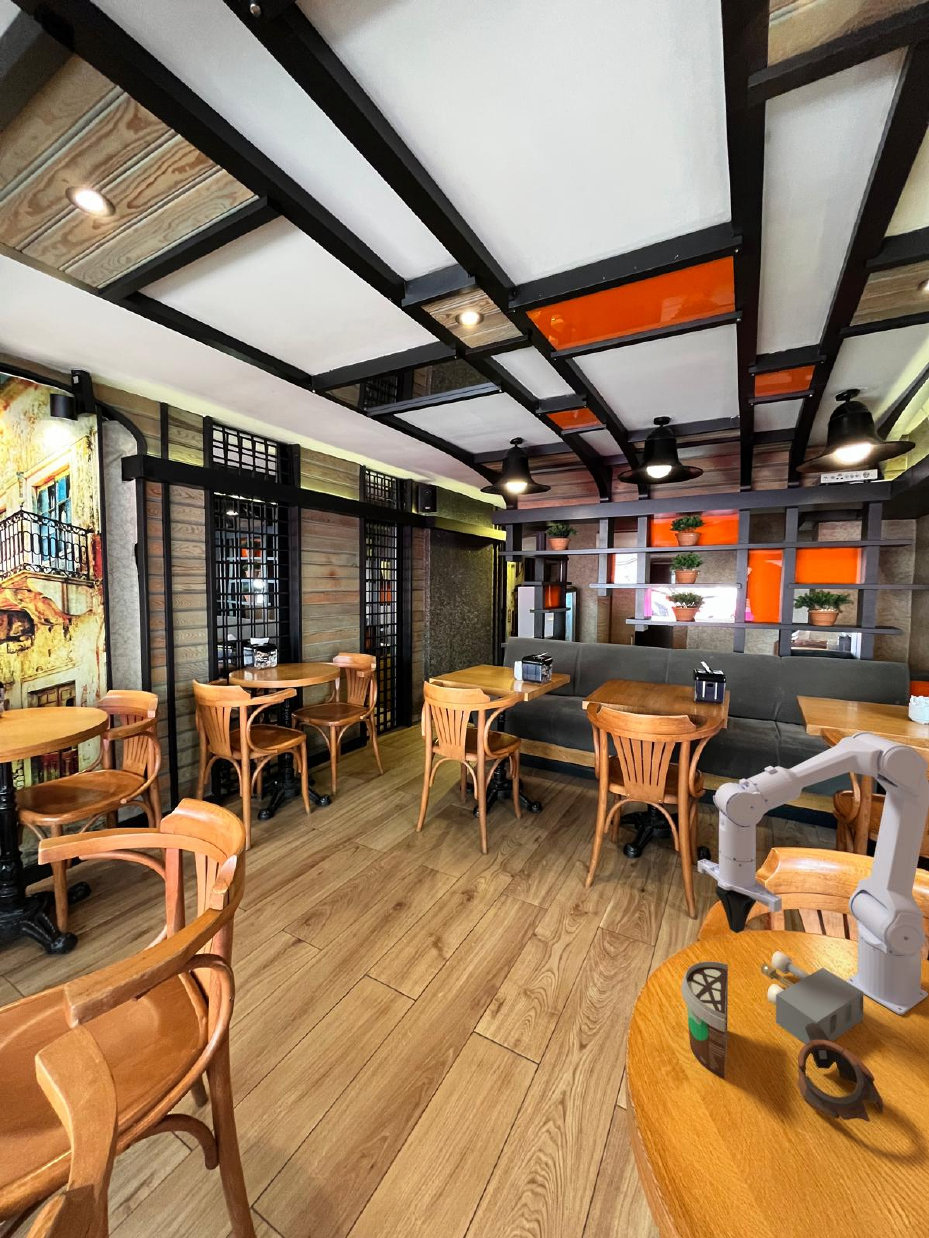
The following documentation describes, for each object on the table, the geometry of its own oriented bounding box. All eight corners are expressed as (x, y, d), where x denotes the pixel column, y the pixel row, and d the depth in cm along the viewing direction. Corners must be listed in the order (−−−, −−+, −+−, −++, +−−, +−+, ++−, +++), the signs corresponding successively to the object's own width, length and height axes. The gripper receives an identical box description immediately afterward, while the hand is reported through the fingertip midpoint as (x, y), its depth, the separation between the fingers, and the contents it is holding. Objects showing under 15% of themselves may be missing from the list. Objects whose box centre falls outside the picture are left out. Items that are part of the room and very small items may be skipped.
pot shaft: (767, 971, 88) (767, 961, 88) (808, 998, 82) (808, 987, 82) (760, 974, 88) (760, 964, 87) (802, 1002, 81) (802, 991, 81)
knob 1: (777, 997, 83) (777, 981, 83) (825, 1030, 76) (825, 1012, 76) (767, 1003, 82) (767, 986, 82) (815, 1037, 75) (815, 1019, 75)
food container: (685, 1008, 83) (686, 949, 82) (727, 1023, 80) (728, 962, 79) (676, 1068, 72) (676, 1000, 72) (724, 1088, 69) (724, 1017, 69)
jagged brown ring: (910, 1140, 62) (892, 1099, 61) (834, 1160, 64) (814, 1120, 62) (843, 1036, 74) (827, 999, 72) (781, 1055, 76) (763, 1019, 74)
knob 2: (781, 963, 91) (781, 948, 91) (824, 991, 84) (824, 975, 84) (771, 968, 90) (771, 953, 89) (815, 997, 83) (815, 980, 83)
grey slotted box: (822, 993, 85) (822, 967, 85) (863, 1019, 80) (863, 991, 80) (776, 1022, 80) (776, 994, 80) (816, 1052, 74) (816, 1022, 74)
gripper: (686, 841, 93) (686, 913, 93) (763, 879, 80) (762, 962, 80) (712, 833, 96) (711, 903, 96) (789, 868, 83) (789, 948, 83)
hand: (736, 929), depth 88 cm, fingers closed
